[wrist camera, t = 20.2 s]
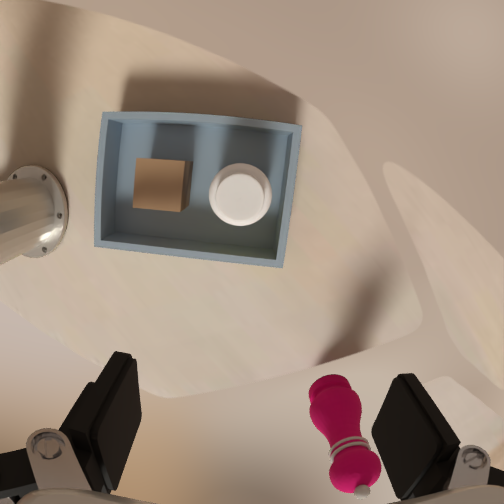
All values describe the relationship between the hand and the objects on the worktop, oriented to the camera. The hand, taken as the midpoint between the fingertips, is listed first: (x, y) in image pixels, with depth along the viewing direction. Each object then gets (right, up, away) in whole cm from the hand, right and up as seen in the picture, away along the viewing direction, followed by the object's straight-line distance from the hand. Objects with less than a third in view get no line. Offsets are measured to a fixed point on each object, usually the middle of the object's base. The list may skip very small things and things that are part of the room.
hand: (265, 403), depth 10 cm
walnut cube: (-10, +13, +25) cm, 30 cm away
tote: (-7, +13, +26) cm, 30 cm away
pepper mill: (+11, -15, +34) cm, 39 cm away
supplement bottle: (-2, +12, +25) cm, 28 cm away
